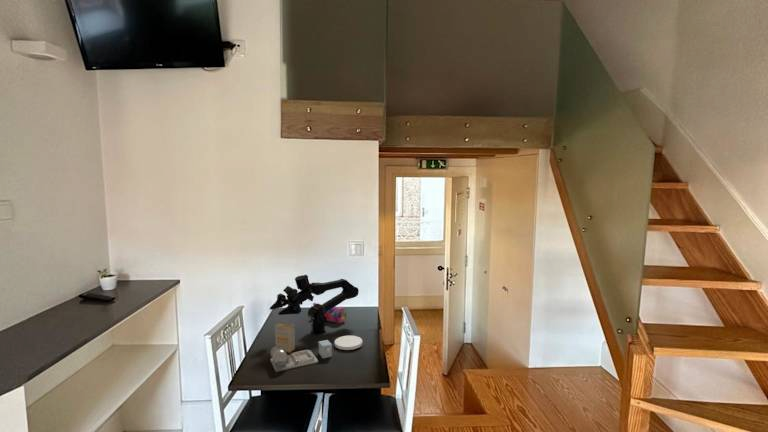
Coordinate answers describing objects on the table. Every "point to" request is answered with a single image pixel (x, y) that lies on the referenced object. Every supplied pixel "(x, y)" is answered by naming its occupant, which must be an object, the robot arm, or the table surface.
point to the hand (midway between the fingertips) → (274, 311)
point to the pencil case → (335, 314)
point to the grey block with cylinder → (325, 349)
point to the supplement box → (285, 336)
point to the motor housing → (290, 359)
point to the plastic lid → (348, 342)
